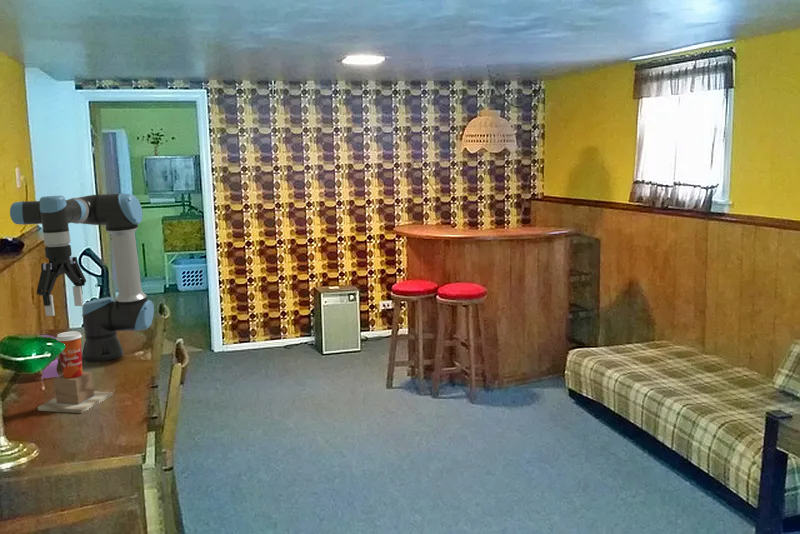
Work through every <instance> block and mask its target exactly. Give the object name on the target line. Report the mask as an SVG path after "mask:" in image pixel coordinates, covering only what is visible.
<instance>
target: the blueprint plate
mask: <svg viewBox="0 0 800 534" xmlns="http://www.w3.org/2000/svg"><path fill="white" fill-rule="evenodd" d="M111 396H112V397H113V396H114V394H113V392H111V391H94V396H93V397H91V398H89V399H87V400H85V401H83V402H81V403H80V404H68V403H57V399H56V397H55V398H52V399H51V400H49V401H46V402H44V403H42V404H41V405H39V406H37V411H38V412H39V411H40V412H56V413H58V412H59V413H70V414H72V413H74V414H82V413H85V412H87V411H88V410H90V409H92V408H94V407H95V406H97V405H99V404H101V403H102V401H103V402H104V401H107V400H108V399H109V397H110V398H111ZM100 402H101V403H100ZM98 403H99V404H98ZM96 404H97V405H96ZM93 406H94V407H93ZM91 407H92V408H91ZM89 408H90V409H89ZM86 410H87V411H86ZM84 411H85V412H84Z"/></svg>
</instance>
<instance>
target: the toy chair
mask: <svg viewBox="0 0 800 534" xmlns="http://www.w3.org/2000/svg"><path fill="white" fill-rule="evenodd" d="M41 336H43V337H51V338H54V339H56V338H57V337H55V336H52V335H49V334H42V335H41ZM58 364H59V358H58V356H57V358H56V359H55V360H54V361H52V362H51V363H50V364H49V366H47V367H46V368H45V369H44V370H42V372H43V374H42V375H41V379H43V378H51V377H58V376H60V375H59V373H58V371H57V368H58ZM41 379H40V380H41Z"/></svg>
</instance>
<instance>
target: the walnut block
mask: <svg viewBox="0 0 800 534" xmlns="http://www.w3.org/2000/svg"><path fill="white" fill-rule="evenodd" d="M59 376H60V377H57V378H53V381H54V382H53V383H54V389H55V398H56V399H57V403H68V404H80V403H81V402H83V401H85V400H87V399H89V398H91V397H93V396H94V389H95V388H94V380H93V379H94V378H93V372H92V371H82V375H81V376H79V377H76V378H64V376H63V374H62V375H59Z"/></svg>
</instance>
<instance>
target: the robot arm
mask: <svg viewBox="0 0 800 534" xmlns="http://www.w3.org/2000/svg"><path fill="white" fill-rule="evenodd" d="M9 214H10V215H9V216H10V219H11V221H12V222H13V223H14V224H15V225H24V226H25V225H41V227H42V233H43V243H44V245H45V246H44V254H45V258H46V259H48V263H47V262H45V263H43V262H42V263H41V265H40V270H41V271H40V276H39V280H38V285H37V289H36V295H39V296H42V300H43V301H42V302H43V306H44V310H45V311H44V312H45V316H47V317H54V316H55V315H56V313H55V304H54V296H53V294H51V293H52V291H53V289H54V286H55V283H56V281H57V278H59V277H60V275H61V276H62V275H64V274H65V276H66V277H67V278H68V279H69V281H70V282H71V283H72V284H73V286H72V293H73V301H74V302H73V303H74V307H82V309H81V312H82V315H81V317H82V323H83V330H84V340H85V342H84V346H83V349H82V361H84V362H90V363H97V362H100V363H101V362H106V361H111V360H115V359H118V358H121V357H122V356H123V355H124V348H123V346H122V345H121V342H120V340H119V338H118V335H117V332H125V331H126V332H129V331H136V332H138V331H146V330H148V329H149V328H150V327H151V325H152V323H153V320H154V315H155V307H154V306H155V305H154V303H153V301H152V300H150V299H148V296H147V294H146V293H144V292H143V289H142V280H141V275H140V265H139V259H138V251H137V250H138V249H137V241H136V234H135V233H136V231H137V230H138V228H139V225H140V224H141V223H142V220H143V209H142V206H141V203H140V200H139V199H138V197H137V196H135V195H134V194H133V193H123V192H122V193H107V194H106V193H105V194H92V195H86V196H80V197H79V196H78V197H71V198H70V199H69V198H68V199H66V197H65V196H64V195H51V196H50V195H49V196H48V195H47V196H41V197H40V198H39V200H34V201H33V200H31V201H29V200H28V201H26V200H25V201H24V200H22V201H15V202H13V203H12V204H11V205H10V207H9ZM69 224H77V225H78V224H82V225H90V226H95V225H96V226H105V231H106V232H107V233H108V234H109V235H110V237H111V245H112V253H113V262H114V267H115V268H114V269H115V275H116V283H117V290H118V295H117V296H116V297H115V301H114V298H113V297H110V296H108V297H101V298H97V299H93V300H90V301H86V302H84V300H83V287H85V284H86V282H87V280H86V277H85V275H84V273H83V271H82V269H81V267H80V265H79V263H78V257H77V256H72V254H73V253H72V246H71V245H70V243H71V237H70V228H69Z"/></svg>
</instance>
